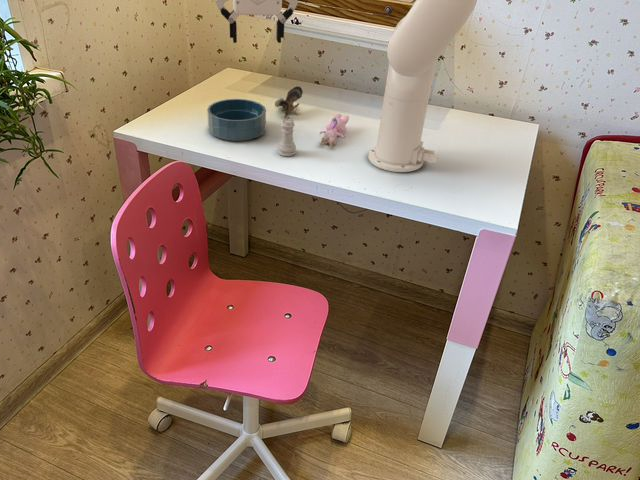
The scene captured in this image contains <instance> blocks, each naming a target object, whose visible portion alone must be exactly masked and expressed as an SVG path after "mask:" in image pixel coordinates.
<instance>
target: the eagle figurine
mask: <svg viewBox="0 0 640 480" xmlns="http://www.w3.org/2000/svg"><path fill="white" fill-rule="evenodd" d="M303 92H304V91H303V89H302V87H301V86H294V87H293V88H291V89H290V90H289V91H287V94H286V97H285V99H284V98H283V97H280V98H278V99H277V100H275V102H274V107H276V108H279V107H282V108H283V109H281V112H284V119H286V118H288V116H289V115H290V113H291V112H293V113H295V114H296V115H298V112H297V109H296V108H297V107H299V105H300V103H299V102H298V103H297V104H295V105H294V103H295V102H297V101H298V100H299V99H300V100H301V98H302V97H303Z"/></svg>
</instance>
